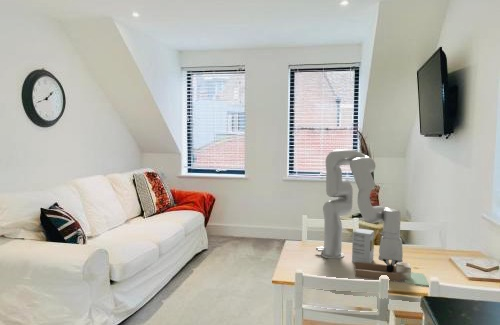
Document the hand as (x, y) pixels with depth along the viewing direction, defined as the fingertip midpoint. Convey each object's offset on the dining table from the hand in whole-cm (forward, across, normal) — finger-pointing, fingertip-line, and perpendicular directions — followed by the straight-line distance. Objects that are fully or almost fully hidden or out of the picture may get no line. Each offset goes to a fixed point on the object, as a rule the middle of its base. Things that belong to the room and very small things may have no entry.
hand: (389, 272), depth 169 cm
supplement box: (+2, -12, +17) cm, 21 cm away
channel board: (+2, 0, 0) cm, 2 cm away
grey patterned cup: (+1, +6, 0) cm, 6 cm away
